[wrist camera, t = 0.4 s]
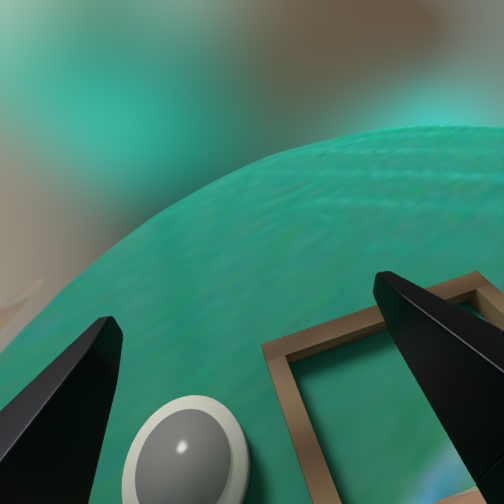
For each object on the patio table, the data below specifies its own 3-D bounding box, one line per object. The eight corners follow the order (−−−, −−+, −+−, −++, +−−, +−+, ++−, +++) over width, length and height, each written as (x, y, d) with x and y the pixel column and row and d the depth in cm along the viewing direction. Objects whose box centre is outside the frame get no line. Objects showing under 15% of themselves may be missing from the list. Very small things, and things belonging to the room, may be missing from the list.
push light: (266, 522, 17) (261, 522, 15) (134, 574, 16) (114, 581, 15) (235, 389, 23) (229, 378, 21) (136, 424, 22) (121, 415, 20)
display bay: (685, 483, 16) (718, 480, 14) (355, 634, 14) (360, 645, 13) (468, 283, 26) (476, 270, 25) (263, 353, 24) (260, 344, 23)
